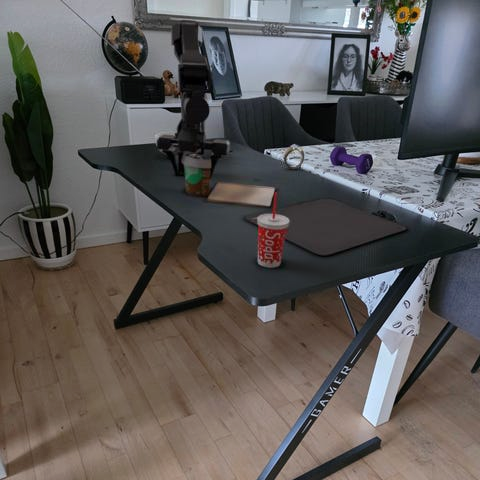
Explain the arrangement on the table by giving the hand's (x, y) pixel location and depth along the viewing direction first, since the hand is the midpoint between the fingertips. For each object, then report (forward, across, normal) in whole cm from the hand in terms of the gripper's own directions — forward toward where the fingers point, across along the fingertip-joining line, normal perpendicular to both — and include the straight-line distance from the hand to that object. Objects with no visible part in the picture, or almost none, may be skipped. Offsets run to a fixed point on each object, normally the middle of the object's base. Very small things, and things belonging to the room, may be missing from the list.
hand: (193, 177), depth 123 cm
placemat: (+4, +14, +2) cm, 14 cm away
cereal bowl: (+4, -14, +38) cm, 41 cm away
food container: (+4, 0, 0) cm, 4 cm away
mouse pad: (+4, +36, -14) cm, 39 cm away
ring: (+4, +26, +36) cm, 45 cm away
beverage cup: (+4, +25, -40) cm, 47 cm away
